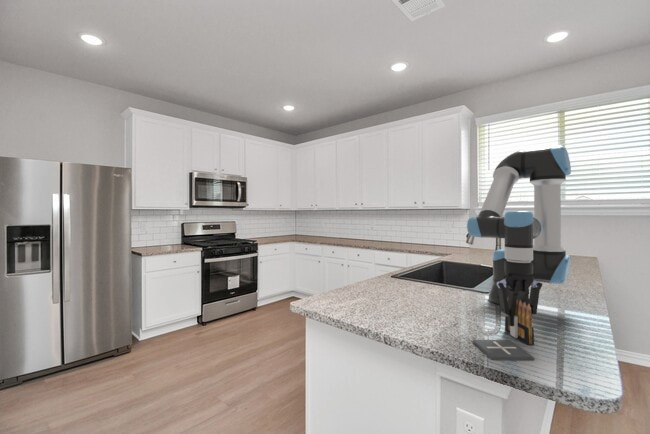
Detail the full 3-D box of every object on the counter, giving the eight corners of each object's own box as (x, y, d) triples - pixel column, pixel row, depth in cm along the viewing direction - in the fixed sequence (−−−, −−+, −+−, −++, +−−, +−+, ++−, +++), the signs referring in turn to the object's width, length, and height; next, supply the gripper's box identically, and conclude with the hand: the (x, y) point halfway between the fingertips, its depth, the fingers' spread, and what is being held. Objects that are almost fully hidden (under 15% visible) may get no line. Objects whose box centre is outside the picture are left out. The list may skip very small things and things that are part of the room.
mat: (510, 342, 92) (510, 339, 92) (534, 360, 81) (534, 356, 81) (473, 342, 92) (473, 339, 92) (491, 359, 81) (491, 356, 81)
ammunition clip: (504, 331, 100) (504, 294, 100) (510, 331, 100) (509, 294, 100) (528, 345, 90) (528, 304, 89) (534, 345, 90) (534, 304, 90)
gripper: (535, 258, 98) (535, 331, 98) (487, 258, 99) (487, 331, 99) (552, 262, 91) (552, 341, 91) (499, 262, 91) (500, 341, 91)
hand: (518, 336), depth 95 cm, fingers closed on ammunition clip, 2 cm apart
